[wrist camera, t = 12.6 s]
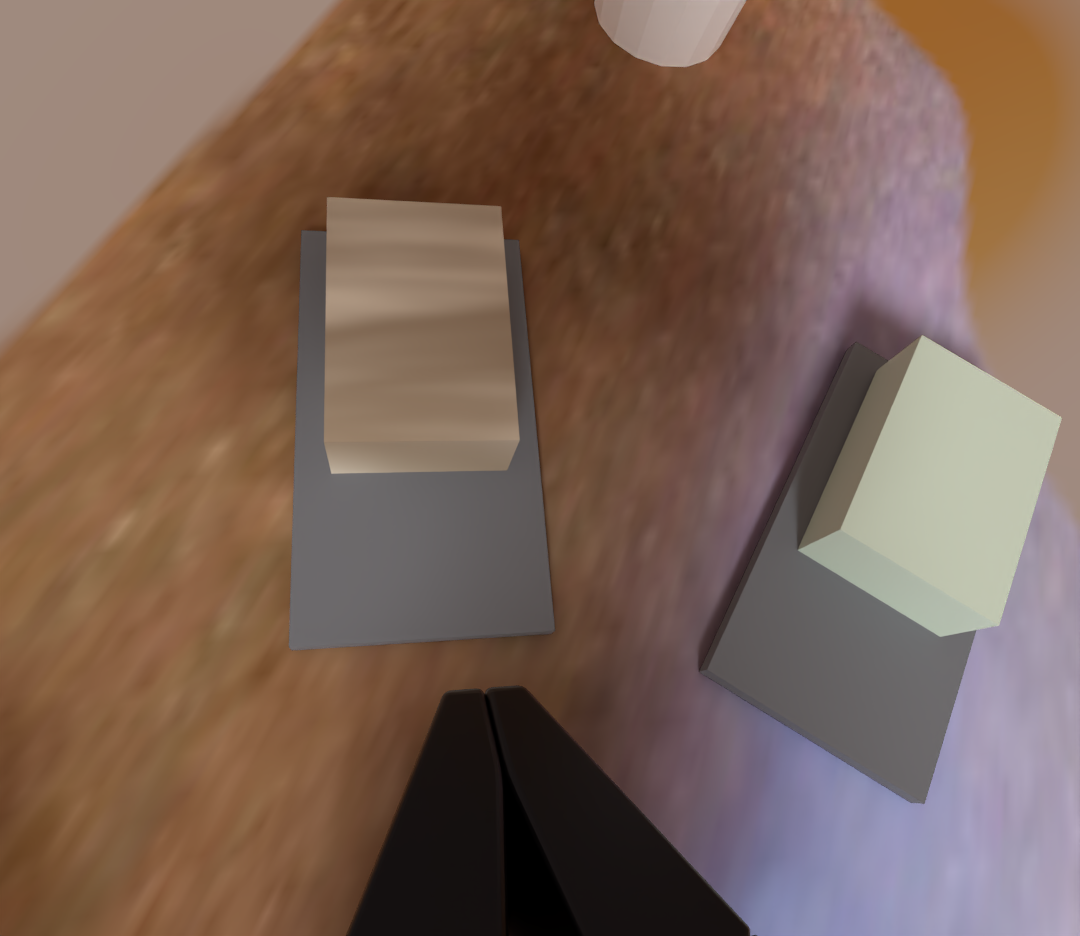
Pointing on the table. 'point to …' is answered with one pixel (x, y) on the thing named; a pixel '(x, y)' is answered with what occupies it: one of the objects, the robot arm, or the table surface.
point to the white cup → (668, 28)
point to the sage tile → (934, 490)
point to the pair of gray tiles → (524, 578)
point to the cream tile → (417, 338)
